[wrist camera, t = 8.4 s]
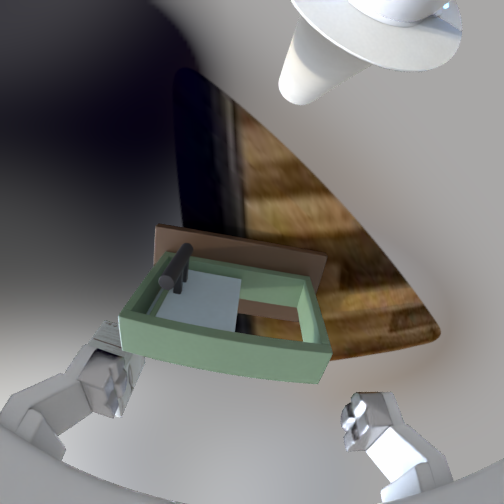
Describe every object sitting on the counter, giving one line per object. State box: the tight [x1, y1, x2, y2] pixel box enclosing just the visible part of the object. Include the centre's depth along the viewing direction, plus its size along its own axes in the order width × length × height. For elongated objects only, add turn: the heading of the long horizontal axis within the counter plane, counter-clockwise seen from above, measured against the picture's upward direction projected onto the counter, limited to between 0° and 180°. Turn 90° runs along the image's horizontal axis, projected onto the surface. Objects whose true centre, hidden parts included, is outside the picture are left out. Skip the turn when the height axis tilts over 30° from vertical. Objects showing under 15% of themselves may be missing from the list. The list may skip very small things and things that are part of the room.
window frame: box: [118, 224, 333, 384], centre depth 29 cm, size 10×21×15 cm, turn 80°
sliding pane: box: [149, 243, 242, 332], centre depth 28 cm, size 5×8×11 cm, turn 80°
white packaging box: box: [88, 320, 145, 417], centre depth 36 cm, size 7×7×13 cm
